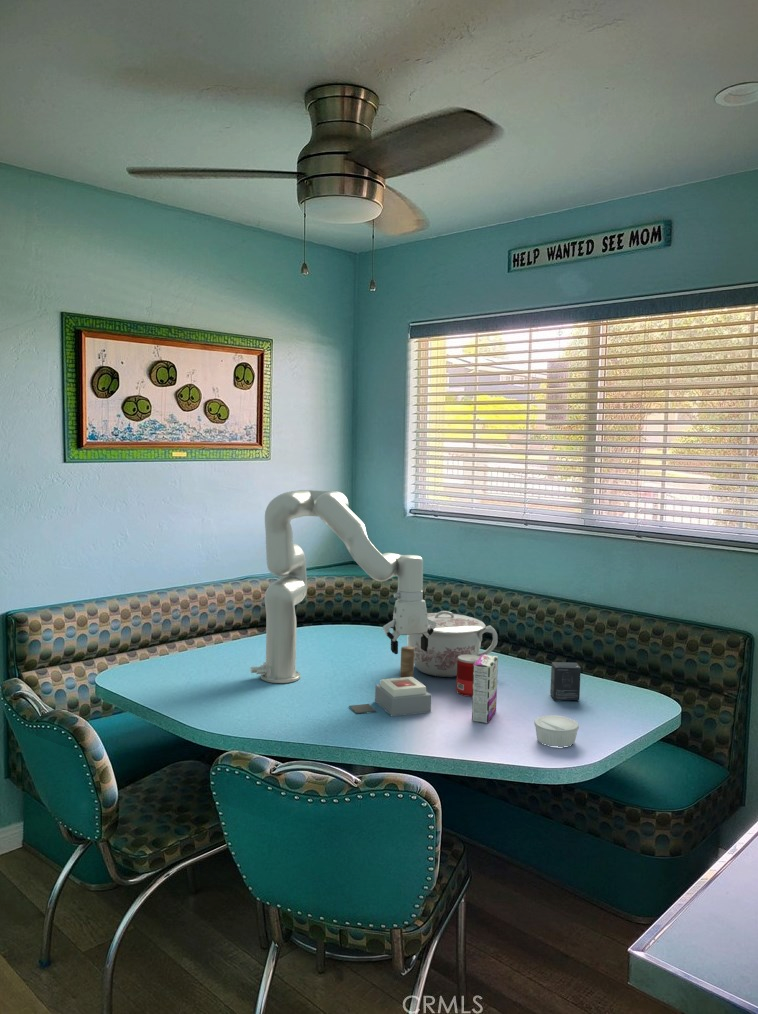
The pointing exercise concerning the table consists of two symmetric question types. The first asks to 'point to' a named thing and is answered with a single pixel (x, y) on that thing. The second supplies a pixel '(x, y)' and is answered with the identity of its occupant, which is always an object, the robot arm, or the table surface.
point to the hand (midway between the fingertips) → (409, 651)
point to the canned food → (465, 674)
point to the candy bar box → (484, 688)
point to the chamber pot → (449, 643)
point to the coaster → (362, 708)
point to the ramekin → (556, 730)
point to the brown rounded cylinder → (407, 661)
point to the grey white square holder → (403, 697)
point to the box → (565, 681)
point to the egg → (402, 683)
